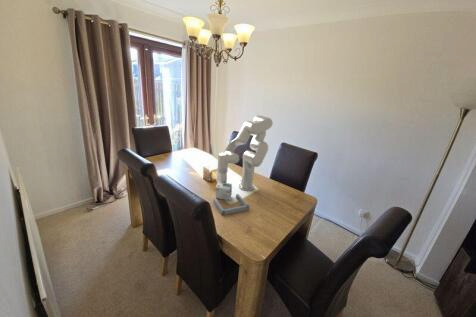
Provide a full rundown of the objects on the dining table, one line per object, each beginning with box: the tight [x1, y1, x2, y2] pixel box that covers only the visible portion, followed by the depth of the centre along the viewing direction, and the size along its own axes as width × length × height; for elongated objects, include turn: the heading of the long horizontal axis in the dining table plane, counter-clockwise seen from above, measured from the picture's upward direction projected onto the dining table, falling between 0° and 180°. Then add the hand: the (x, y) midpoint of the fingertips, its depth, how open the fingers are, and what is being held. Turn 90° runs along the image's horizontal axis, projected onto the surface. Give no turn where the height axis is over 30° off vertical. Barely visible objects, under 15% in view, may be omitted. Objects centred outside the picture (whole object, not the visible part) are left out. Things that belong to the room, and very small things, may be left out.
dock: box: [212, 193, 250, 216], centre depth 141 cm, size 17×20×3 cm
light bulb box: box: [215, 182, 233, 201], centre depth 149 cm, size 11×7×11 cm, turn 79°
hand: (221, 191), depth 156 cm, fingers closed
